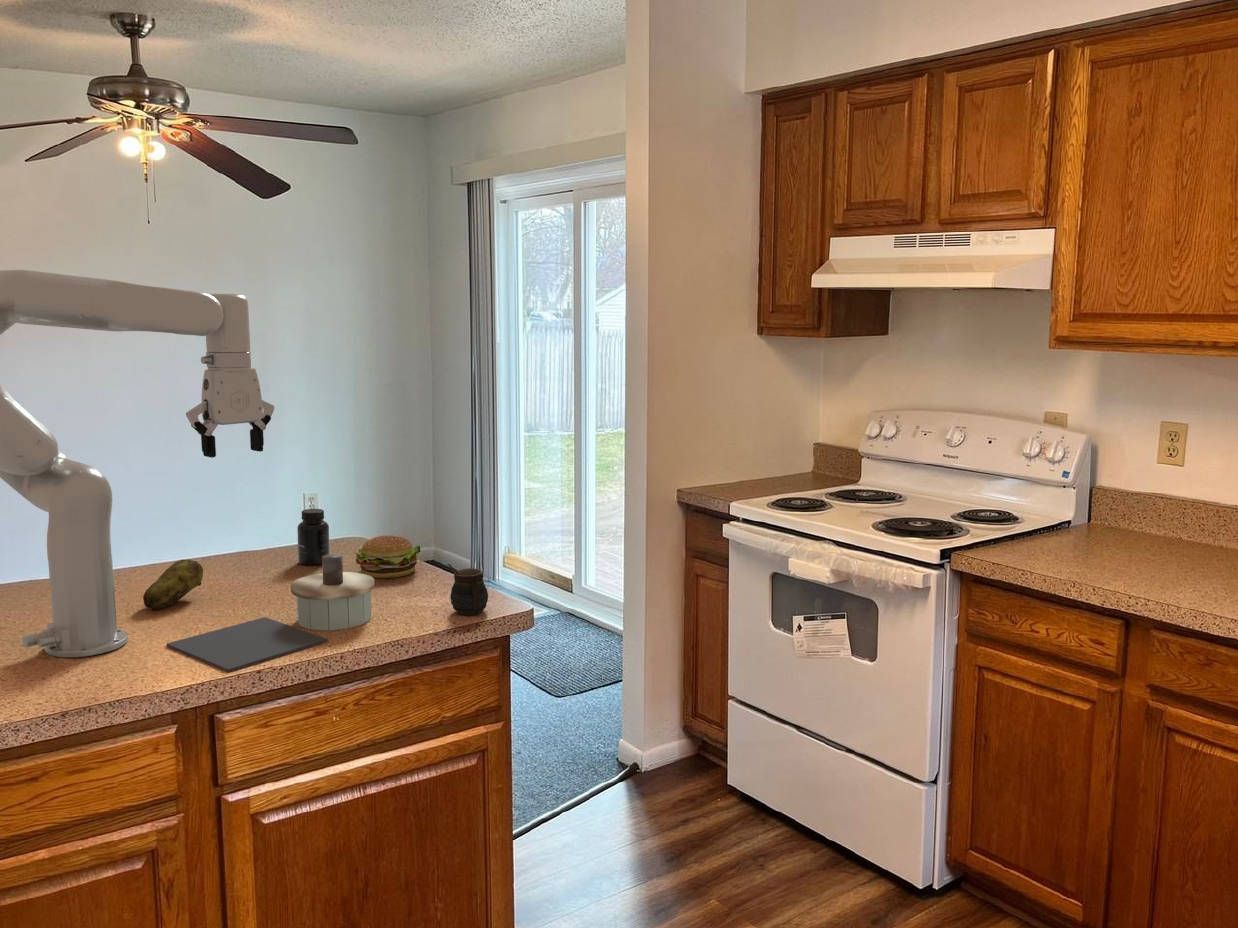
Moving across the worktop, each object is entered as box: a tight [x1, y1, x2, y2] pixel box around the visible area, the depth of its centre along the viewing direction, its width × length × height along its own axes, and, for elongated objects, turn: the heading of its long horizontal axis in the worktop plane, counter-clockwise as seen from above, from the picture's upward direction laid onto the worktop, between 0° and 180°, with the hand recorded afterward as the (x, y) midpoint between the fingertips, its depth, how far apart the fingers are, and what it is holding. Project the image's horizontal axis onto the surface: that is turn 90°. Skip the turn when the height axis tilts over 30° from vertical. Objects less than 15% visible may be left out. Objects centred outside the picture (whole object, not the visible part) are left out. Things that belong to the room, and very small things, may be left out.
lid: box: [290, 553, 376, 600], centre depth 188 cm, size 15×15×6 cm
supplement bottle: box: [296, 508, 331, 567], centre depth 228 cm, size 7×7×12 cm
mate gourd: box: [447, 563, 489, 616], centre depth 194 cm, size 7×8×10 cm
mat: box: [166, 616, 329, 673], centre depth 176 cm, size 19×19×1 cm
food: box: [353, 534, 421, 579], centre depth 221 cm, size 14×14×8 cm
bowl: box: [296, 590, 372, 631], centre depth 189 cm, size 13×13×6 cm
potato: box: [142, 559, 204, 611], centre depth 197 cm, size 8×13×8 cm, turn 141°
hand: (233, 453), depth 189 cm, fingers open, 9 cm apart
